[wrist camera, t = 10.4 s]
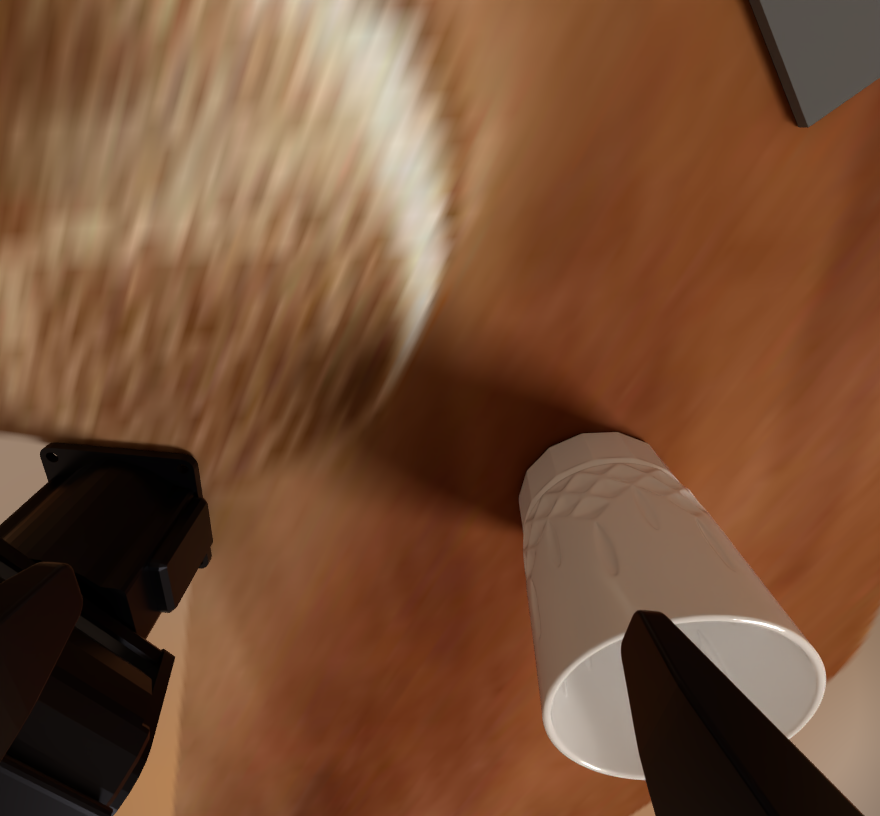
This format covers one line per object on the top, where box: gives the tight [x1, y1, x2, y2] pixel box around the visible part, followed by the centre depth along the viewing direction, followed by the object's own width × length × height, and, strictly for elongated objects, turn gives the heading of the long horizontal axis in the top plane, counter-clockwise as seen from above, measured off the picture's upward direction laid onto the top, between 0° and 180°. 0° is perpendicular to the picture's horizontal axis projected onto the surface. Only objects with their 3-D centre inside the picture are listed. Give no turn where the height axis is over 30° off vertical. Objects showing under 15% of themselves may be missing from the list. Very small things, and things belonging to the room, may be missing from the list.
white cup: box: [519, 432, 826, 780], centre depth 19 cm, size 8×8×10 cm
